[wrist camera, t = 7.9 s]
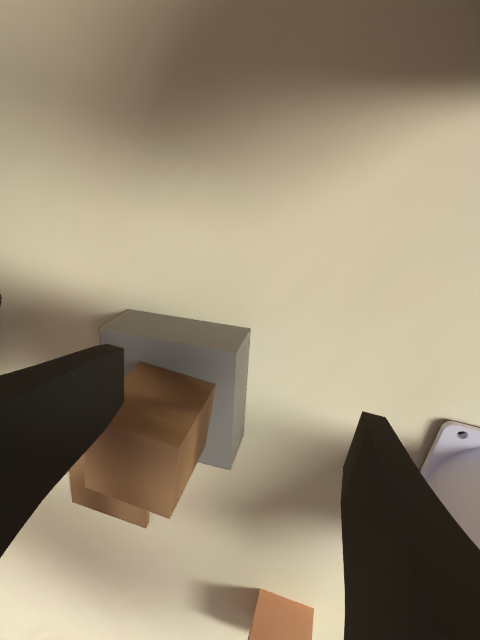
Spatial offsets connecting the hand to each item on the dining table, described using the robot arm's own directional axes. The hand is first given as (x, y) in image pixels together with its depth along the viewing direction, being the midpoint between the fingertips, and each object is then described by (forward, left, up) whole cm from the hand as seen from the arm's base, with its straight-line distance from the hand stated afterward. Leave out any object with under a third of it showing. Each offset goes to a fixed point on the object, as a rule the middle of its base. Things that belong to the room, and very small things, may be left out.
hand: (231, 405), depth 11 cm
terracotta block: (-5, +28, -10) cm, 30 cm away
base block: (+5, +7, -11) cm, 14 cm away
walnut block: (+5, +7, -7) cm, 11 cm away
